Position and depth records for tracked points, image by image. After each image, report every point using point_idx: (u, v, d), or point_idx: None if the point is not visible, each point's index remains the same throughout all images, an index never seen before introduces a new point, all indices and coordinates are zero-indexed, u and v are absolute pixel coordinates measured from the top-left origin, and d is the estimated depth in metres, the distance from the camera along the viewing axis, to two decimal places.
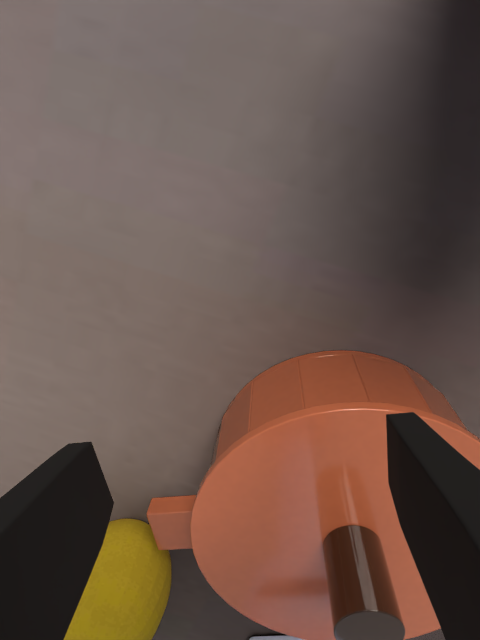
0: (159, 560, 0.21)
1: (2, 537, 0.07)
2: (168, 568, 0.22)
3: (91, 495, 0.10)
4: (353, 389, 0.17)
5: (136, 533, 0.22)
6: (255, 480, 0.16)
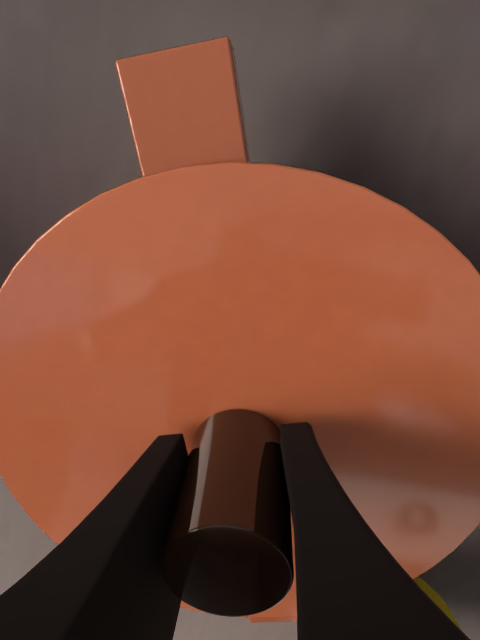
0: None
1: (129, 529, 0.07)
2: None
3: None
4: None
5: None
6: None
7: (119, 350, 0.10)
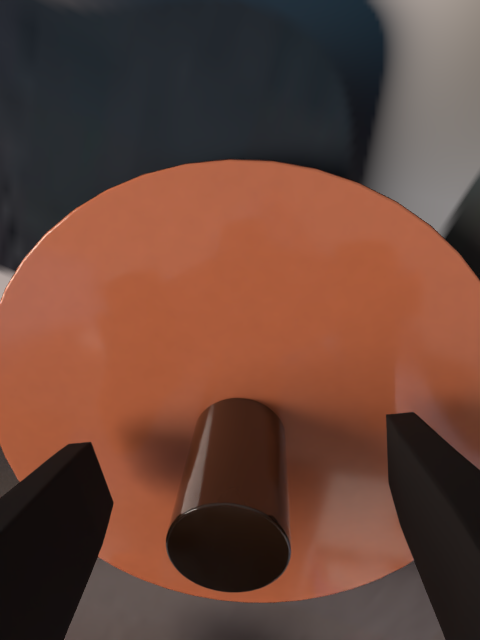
0: None
1: (2, 537, 0.07)
2: None
3: (91, 495, 0.10)
4: None
5: None
6: (133, 537, 0.13)
7: (123, 340, 0.10)
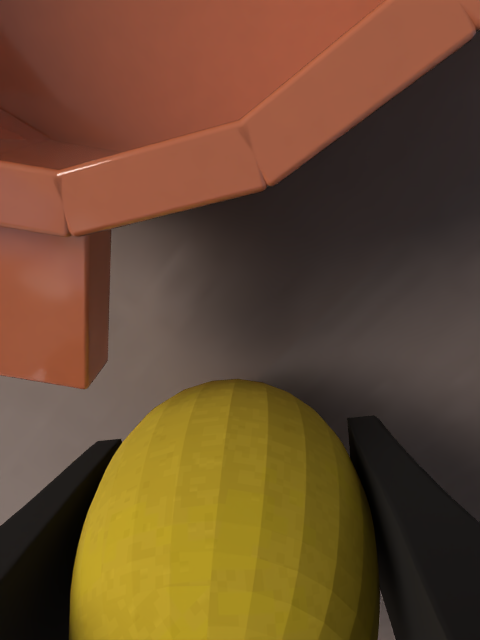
0: (190, 407, 0.08)
1: (42, 534, 0.07)
2: (241, 398, 0.08)
3: None
4: None
5: None
6: None
7: None
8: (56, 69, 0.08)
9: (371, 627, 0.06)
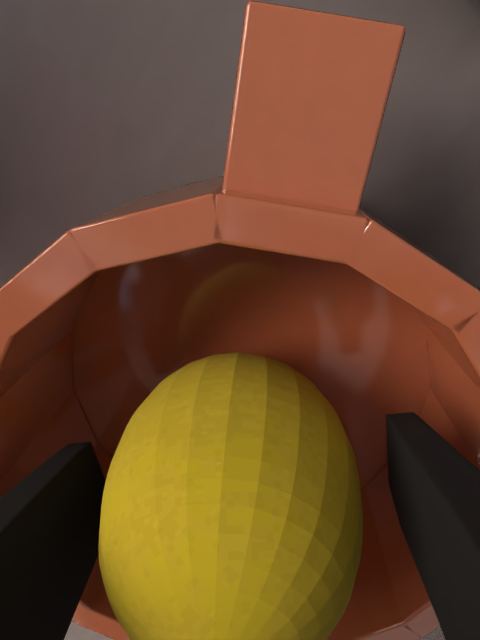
0: (199, 371, 0.09)
1: (2, 536, 0.07)
2: (244, 365, 0.09)
3: (91, 495, 0.10)
4: None
5: None
6: None
7: None
8: None
9: (353, 547, 0.07)
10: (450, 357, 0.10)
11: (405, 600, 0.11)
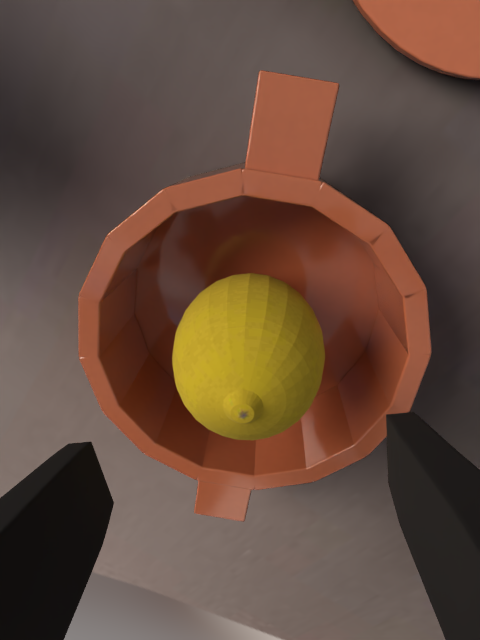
0: (228, 278, 0.15)
1: (2, 537, 0.07)
2: (255, 275, 0.15)
3: (91, 495, 0.10)
4: None
5: None
6: None
7: None
8: None
9: (316, 361, 0.13)
10: (383, 276, 0.16)
11: (356, 433, 0.17)
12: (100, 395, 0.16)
